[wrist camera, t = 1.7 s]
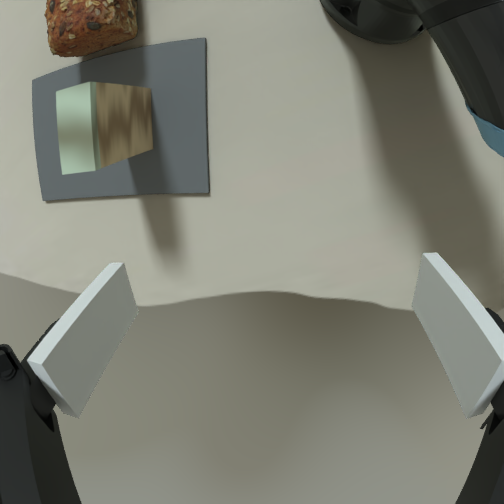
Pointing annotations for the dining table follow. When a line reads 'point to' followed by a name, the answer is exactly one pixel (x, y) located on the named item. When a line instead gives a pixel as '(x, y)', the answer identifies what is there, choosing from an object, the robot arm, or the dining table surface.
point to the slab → (102, 125)
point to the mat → (163, 123)
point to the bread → (89, 25)
